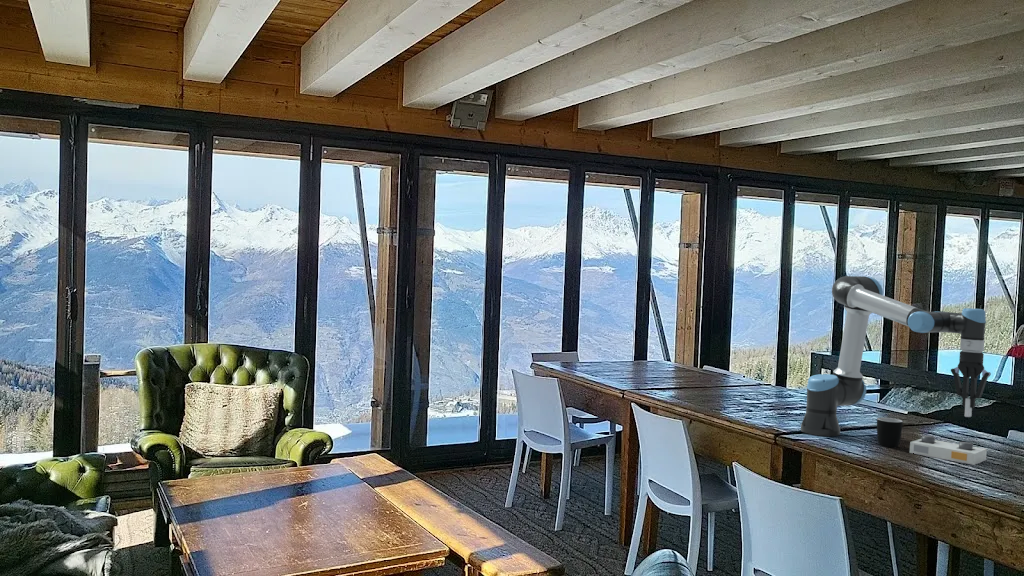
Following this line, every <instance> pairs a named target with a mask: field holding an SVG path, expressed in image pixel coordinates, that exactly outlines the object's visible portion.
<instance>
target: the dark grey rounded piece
mask: <svg viewBox="0 0 1024 576" xmlns="http://www.w3.org/2000/svg"><path fill="white" fill-rule="evenodd" d="M921 439H922V441H921V442H924V443H930V444H934V443H935V440H936V437H935V436H934V435H933V436H932V435H927V434H926V435H921Z"/></svg>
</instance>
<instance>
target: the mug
mask: <svg viewBox="0 0 1024 576" xmlns="http://www.w3.org/2000/svg"><path fill="white" fill-rule="evenodd" d="M902 431H903V420H901V419H898V418H891V417H878V418H877V419H876V434H877V442H878V445H879V446H880V447H884V448H889V447H891V448H890V449H892V448H893V449H895V448H898V446H899V445H900V442H901V438H902V434H903V433H902Z"/></svg>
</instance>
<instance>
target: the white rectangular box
mask: <svg viewBox="0 0 1024 576" xmlns="http://www.w3.org/2000/svg"><path fill="white" fill-rule="evenodd" d="M921 441H922V438H919V439H915V440H912V441H910V443H909V454H913V453H914V455H920V456H926V457H929V458H935V459H941V460H947V461H952V462H957V463H961V464H968V465H972V466H975V465H977V464H980V463H982V462H985V461H986V460H987V452H988V451H987V448H983V447H976V446H973V450H972V451H969V450H963V449H959V443H953V442H949V441H942V440H937V439H935V443H934V444H930V443H924V442H921Z"/></svg>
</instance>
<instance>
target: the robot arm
mask: <svg viewBox="0 0 1024 576" xmlns="http://www.w3.org/2000/svg"><path fill="white" fill-rule="evenodd" d="M831 294H832V295H831V296H832V298H833V299H834V300H835V302H837V303H839V304H841V305H843V309H845V311H846V316H845V322H844V327H843V332H842V340H841V345H840V353H839V359H838V365H837V367H836V368H835V369H834V370H833V371H832V374H829V373H819V374H814V375H811V376H809V377H808V379H807V384H806V388H807V389H806V405H805V407H806V409H805V413H804V416H803V420H802V421H801V423H800V431H801V432H802V433H805V434H809V435H815V436H820V437H821V436H822V437H837V436H840V435H841V427H840V424H839V420H838V417H837V411H838V410H837V409H838V408H837V407H841V406H843V407H845V406H846V407H848V406H853V405H857V404H860V403H861V402H862V401H863V400H864V399H865V396H866V394H867V385H866V384H865V381H864V380H863V378H864V375H863V374H862V372H861V365H862V360H863V353H864V347H865V341H866V335H867V329H868V325H869V319H870V315H872V313H873V314H876V315H878V316H880V317H883V318H885V319H887V320H891V321H893V322H896V323H898V324H901V325H903V326H906V327H909V328H910V330H911V331H913V332H915V333H919V334H925V333H951V334H952V333H953V334H960V346H959V347H960V348H959V349H960V352H959V363H958V364H957V366H956V367H954V368H950V372H951V374H952V375H953V380H954V385H955V386H954V387H955V391H956V395H957V396H959V397H961V398H962V405H961V406H962V407H963V408H964V417H965V418H971V417H972V415H973V414H972V413H973V412H972V411H973V409H974V408H975V407H976V399H980V398H982V396H983V393H984V390H985V387H986V384H987V380H988V378H989V377H990V376H991V374H992V373H991V372H989V371H987V370H986V369H985V366H984V353H983V352H984V351H985V334H986V333H985V331H986V323H987V321H986V317H987V315H986V310H985V309H983V308H971V307H969V308H968V307H966V308H965V307H964V308H963V309H962V311H961V312H952V311H941V310H940V311H938V310H937V311H927V310H924V309H921V308H919V307H915V306H913V305H910V304H908V303H905V302H902V301H899V300H896V299H893V298H891V297H888V296H886V295H883V294H884V291H883V287H882V285H881V284H880V282H879V281H878V280H877V278H876V279H875V278H873V277H869V276H861V275H860V276H859V275H857V276H856V275H854V276H852V275H845V276H841V277H839V278H837V280H835V281H834V283H833V284H832V287H831ZM960 373H961V375H962V380H963V381H961V377H960ZM980 375H981V376H982V377H981V379H980V382H979V386H978V388H977V383H978V377H979V376H980ZM961 382H962V383H961ZM969 387H970V392H969Z"/></svg>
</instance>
